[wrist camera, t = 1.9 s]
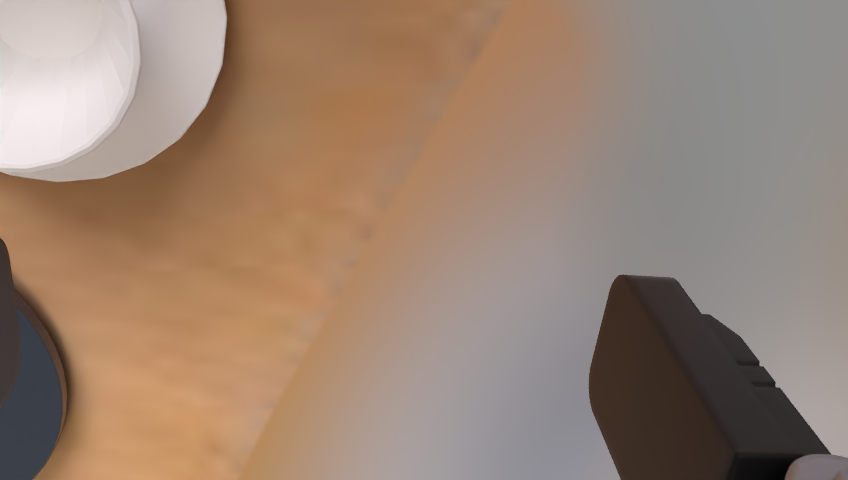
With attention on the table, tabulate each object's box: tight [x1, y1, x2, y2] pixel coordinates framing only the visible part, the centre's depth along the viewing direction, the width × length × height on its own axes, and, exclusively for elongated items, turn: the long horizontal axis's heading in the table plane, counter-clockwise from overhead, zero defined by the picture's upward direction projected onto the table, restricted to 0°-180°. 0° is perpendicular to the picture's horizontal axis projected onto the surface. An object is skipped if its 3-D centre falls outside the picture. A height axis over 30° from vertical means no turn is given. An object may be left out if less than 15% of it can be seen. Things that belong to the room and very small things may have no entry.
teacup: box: [0, 0, 227, 182], centre depth 24 cm, size 12×12×5 cm
